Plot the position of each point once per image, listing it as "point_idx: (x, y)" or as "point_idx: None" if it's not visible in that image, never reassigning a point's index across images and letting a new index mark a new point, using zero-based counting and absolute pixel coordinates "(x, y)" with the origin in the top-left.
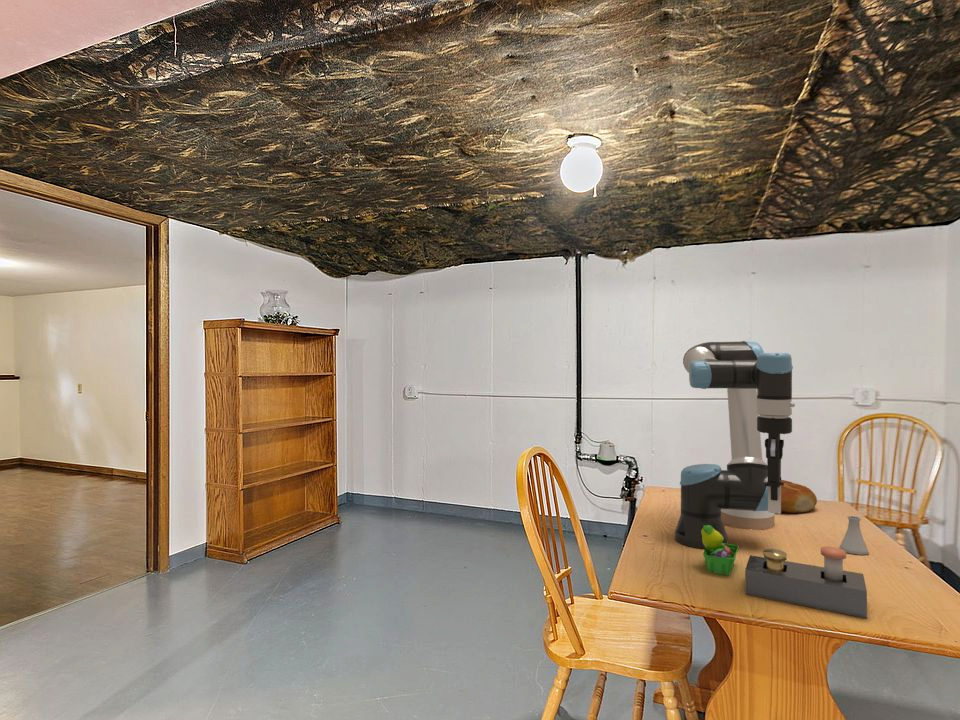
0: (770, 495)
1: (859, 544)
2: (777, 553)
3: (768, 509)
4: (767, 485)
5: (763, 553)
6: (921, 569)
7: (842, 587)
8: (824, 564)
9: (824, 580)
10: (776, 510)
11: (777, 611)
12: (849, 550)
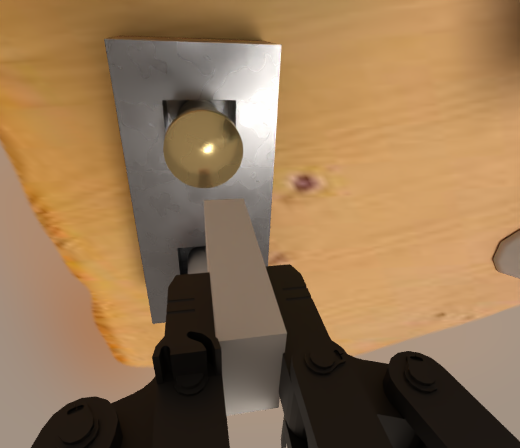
0: (211, 288)
1: (515, 270)
2: (196, 161)
3: (204, 212)
4: (166, 360)
5: (193, 110)
6: (436, 330)
7: (147, 287)
8: (205, 271)
9: (166, 255)
10: (206, 252)
11: (58, 131)
12: (505, 247)
